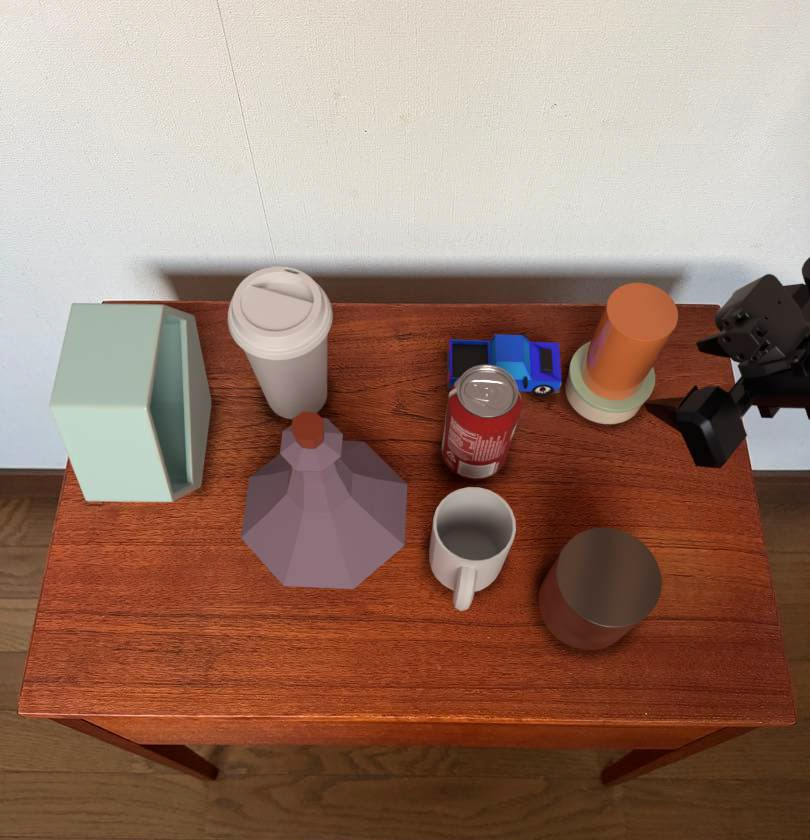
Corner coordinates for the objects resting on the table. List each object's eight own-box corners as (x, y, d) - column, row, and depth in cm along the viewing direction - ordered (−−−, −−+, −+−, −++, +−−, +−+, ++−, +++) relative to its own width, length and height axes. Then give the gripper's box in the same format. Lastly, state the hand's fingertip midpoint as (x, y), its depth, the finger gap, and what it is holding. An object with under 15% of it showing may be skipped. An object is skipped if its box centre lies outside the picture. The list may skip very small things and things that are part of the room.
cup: (504, 530, 73) (519, 492, 65) (495, 627, 69) (509, 600, 61) (433, 520, 73) (438, 481, 65) (419, 616, 69) (423, 588, 61)
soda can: (498, 489, 74) (517, 431, 63) (434, 474, 75) (441, 412, 64) (511, 434, 77) (532, 368, 66) (449, 419, 78) (459, 351, 66)
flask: (379, 435, 77) (376, 311, 58) (435, 575, 71) (451, 486, 52) (227, 482, 74) (173, 368, 56) (272, 631, 68) (228, 558, 50)
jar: (650, 366, 81) (660, 348, 78) (639, 434, 77) (649, 419, 74) (570, 347, 81) (577, 329, 78) (556, 414, 78) (562, 398, 75)
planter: (214, 480, 79) (153, 513, 59) (143, 479, 79) (56, 512, 59) (208, 319, 76) (142, 296, 56) (134, 318, 76) (40, 294, 56)
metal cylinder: (637, 573, 71) (668, 541, 63) (624, 661, 68) (654, 639, 60) (547, 550, 72) (566, 516, 64) (529, 636, 69) (547, 611, 61)
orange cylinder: (656, 380, 76) (693, 319, 67) (608, 411, 75) (639, 352, 65) (615, 337, 78) (645, 271, 69) (567, 365, 77) (592, 302, 67)
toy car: (557, 404, 79) (567, 377, 74) (446, 400, 78) (449, 374, 74) (554, 352, 81) (563, 324, 77) (446, 349, 81) (449, 320, 76)
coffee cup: (359, 390, 79) (353, 297, 65) (298, 449, 76) (278, 364, 62) (295, 342, 81) (276, 242, 67) (233, 397, 78) (200, 305, 64)
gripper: (871, 214, 57) (696, 246, 69) (747, 364, 51) (582, 369, 64) (900, 333, 62) (732, 342, 75) (791, 481, 56) (630, 463, 69)
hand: (672, 375), depth 71 cm, fingers open, 9 cm apart
